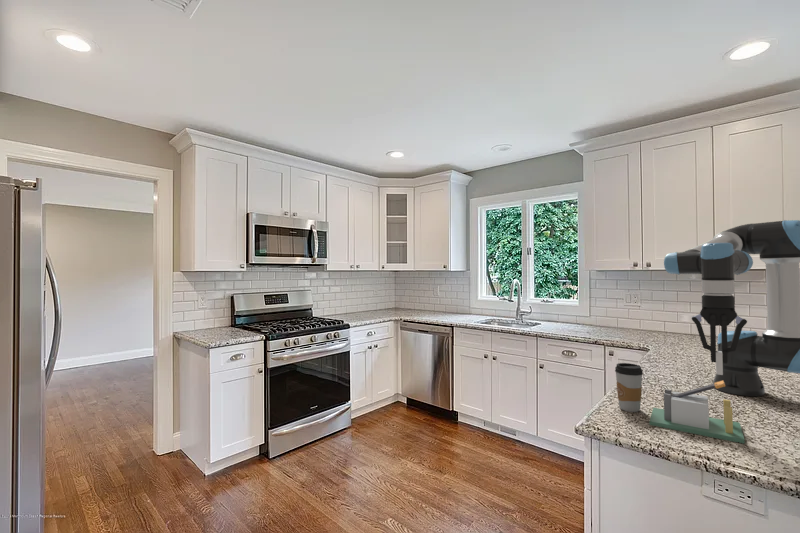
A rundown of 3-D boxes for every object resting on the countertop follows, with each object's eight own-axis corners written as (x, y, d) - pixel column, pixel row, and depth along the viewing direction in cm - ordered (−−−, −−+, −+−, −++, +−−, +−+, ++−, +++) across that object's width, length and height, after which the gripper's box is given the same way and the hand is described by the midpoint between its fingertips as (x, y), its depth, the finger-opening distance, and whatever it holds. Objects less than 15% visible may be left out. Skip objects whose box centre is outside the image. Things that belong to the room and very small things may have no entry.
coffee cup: (610, 405, 136) (609, 363, 136) (632, 404, 136) (631, 362, 136) (626, 414, 127) (625, 369, 127) (649, 412, 128) (648, 368, 128)
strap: (666, 402, 119) (664, 399, 120) (667, 398, 123) (665, 395, 123) (725, 386, 111) (723, 383, 111) (724, 382, 114) (722, 379, 115)
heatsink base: (649, 424, 118) (648, 395, 118) (653, 411, 129) (652, 384, 129) (744, 443, 105) (743, 410, 105) (739, 426, 116) (739, 396, 116)
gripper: (745, 294, 112) (747, 374, 112) (690, 293, 120) (691, 367, 120) (748, 296, 106) (750, 380, 106) (690, 294, 114) (691, 372, 114)
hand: (719, 373), depth 113 cm, fingers closed
